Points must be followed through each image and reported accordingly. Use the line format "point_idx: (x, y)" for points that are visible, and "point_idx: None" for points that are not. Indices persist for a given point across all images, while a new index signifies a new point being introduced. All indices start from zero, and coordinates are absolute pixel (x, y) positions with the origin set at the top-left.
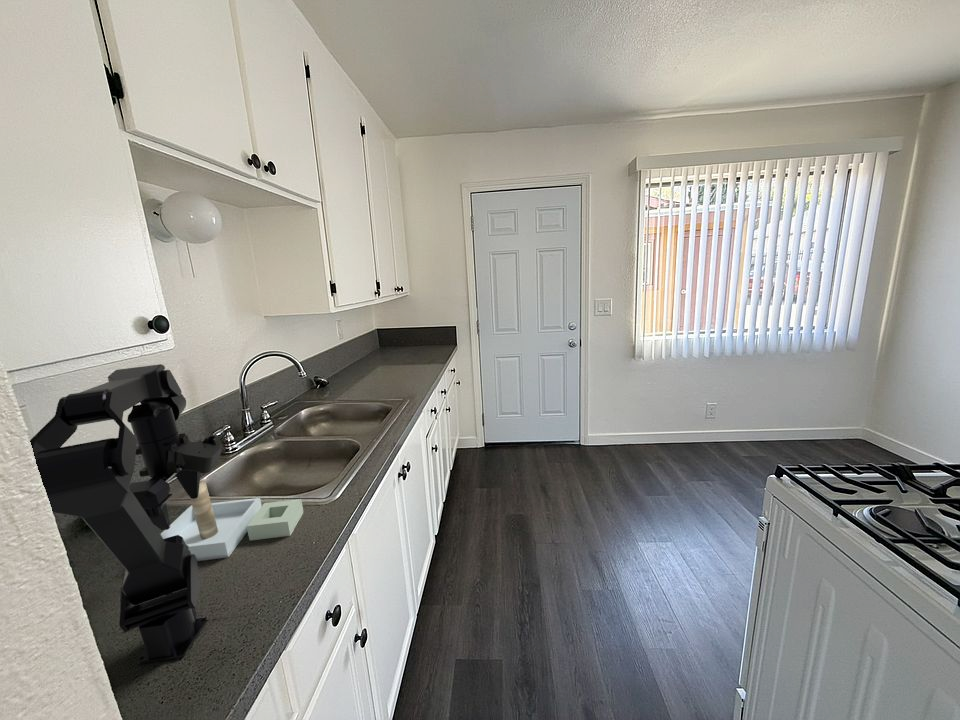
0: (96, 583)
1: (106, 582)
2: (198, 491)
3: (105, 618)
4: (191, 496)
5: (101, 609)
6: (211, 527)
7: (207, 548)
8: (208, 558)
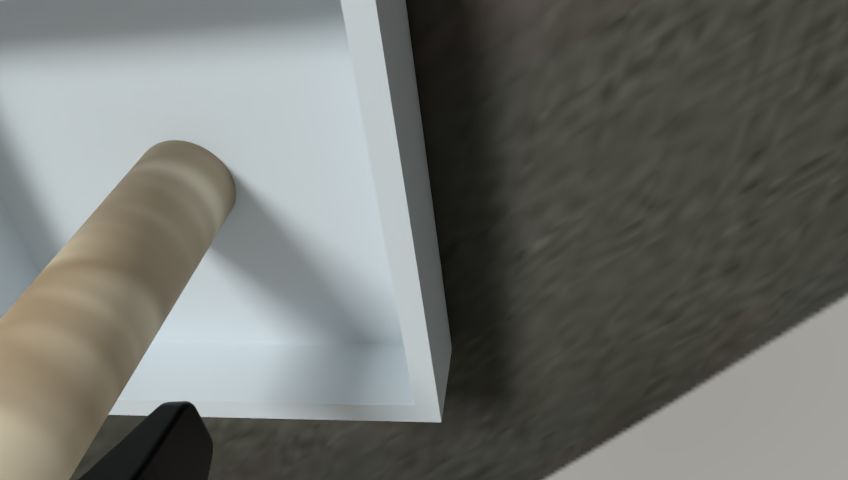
0: (528, 465)
1: (528, 437)
2: (113, 452)
3: (791, 310)
4: (199, 468)
5: (715, 360)
6: (173, 181)
7: (394, 67)
8: (409, 44)
